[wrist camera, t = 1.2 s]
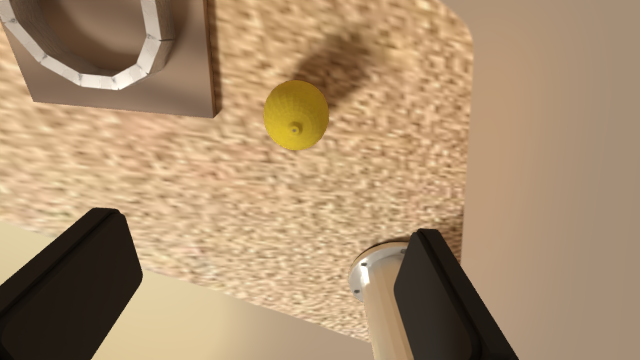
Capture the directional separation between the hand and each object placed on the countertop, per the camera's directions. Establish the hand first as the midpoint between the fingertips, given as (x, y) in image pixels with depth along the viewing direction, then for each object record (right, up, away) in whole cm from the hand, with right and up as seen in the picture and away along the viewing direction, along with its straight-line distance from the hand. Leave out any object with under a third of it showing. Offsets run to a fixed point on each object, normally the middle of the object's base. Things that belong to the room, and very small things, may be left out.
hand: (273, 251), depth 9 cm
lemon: (-1, +10, +18) cm, 20 cm away
